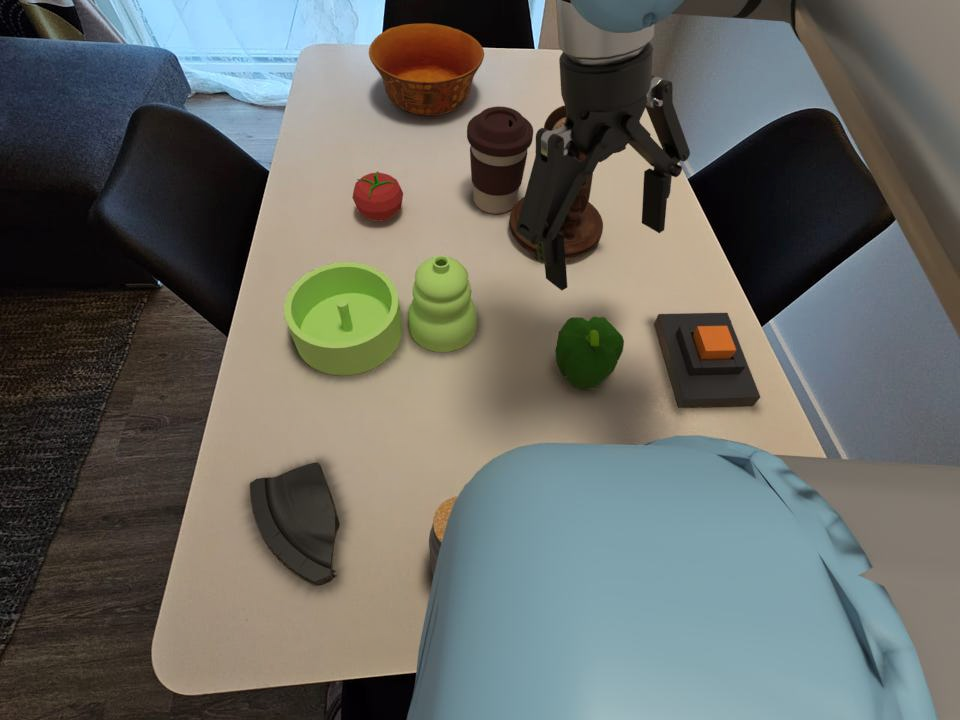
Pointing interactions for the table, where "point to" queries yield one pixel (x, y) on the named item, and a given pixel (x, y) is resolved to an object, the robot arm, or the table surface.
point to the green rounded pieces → (377, 314)
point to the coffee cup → (498, 157)
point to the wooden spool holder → (582, 217)
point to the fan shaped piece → (298, 520)
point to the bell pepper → (588, 351)
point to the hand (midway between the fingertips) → (606, 254)
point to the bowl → (426, 66)
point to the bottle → (439, 530)
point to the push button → (703, 364)
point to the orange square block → (714, 342)
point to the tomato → (377, 196)
